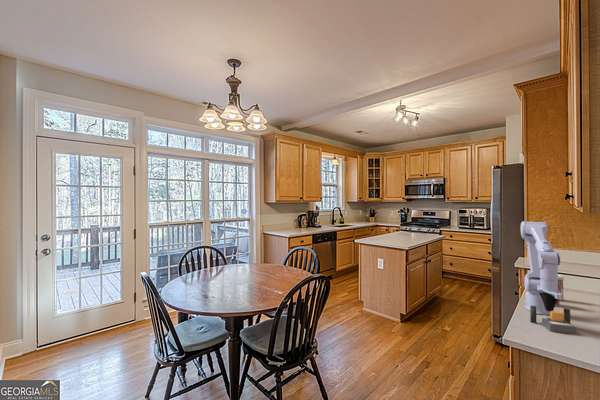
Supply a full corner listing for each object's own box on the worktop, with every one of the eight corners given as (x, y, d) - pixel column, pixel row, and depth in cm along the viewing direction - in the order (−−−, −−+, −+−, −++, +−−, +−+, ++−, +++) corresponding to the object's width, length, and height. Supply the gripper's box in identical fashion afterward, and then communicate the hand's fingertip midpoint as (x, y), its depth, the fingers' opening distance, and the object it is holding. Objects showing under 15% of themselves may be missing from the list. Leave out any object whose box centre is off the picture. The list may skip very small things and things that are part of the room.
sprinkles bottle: (566, 301, 148) (565, 276, 148) (556, 301, 148) (556, 276, 149) (559, 298, 152) (559, 274, 152) (550, 298, 153) (549, 273, 153)
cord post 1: (529, 321, 122) (529, 305, 122) (534, 321, 121) (534, 305, 121) (531, 322, 120) (531, 306, 120) (537, 323, 119) (537, 307, 119)
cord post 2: (562, 324, 118) (562, 308, 118) (568, 325, 118) (568, 308, 118) (565, 326, 116) (565, 309, 117) (571, 327, 116) (571, 310, 116)
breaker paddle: (549, 318, 116) (550, 310, 115) (561, 319, 114) (562, 311, 114) (551, 320, 114) (552, 312, 114) (563, 321, 113) (564, 313, 113)
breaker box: (542, 325, 118) (542, 315, 118) (565, 327, 115) (565, 318, 115) (550, 331, 112) (550, 321, 112) (574, 334, 110) (574, 324, 110)
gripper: (529, 274, 128) (529, 303, 127) (547, 282, 114) (547, 315, 114) (547, 275, 126) (547, 305, 126) (568, 284, 112) (568, 318, 112)
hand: (549, 310), depth 119 cm, fingers closed
